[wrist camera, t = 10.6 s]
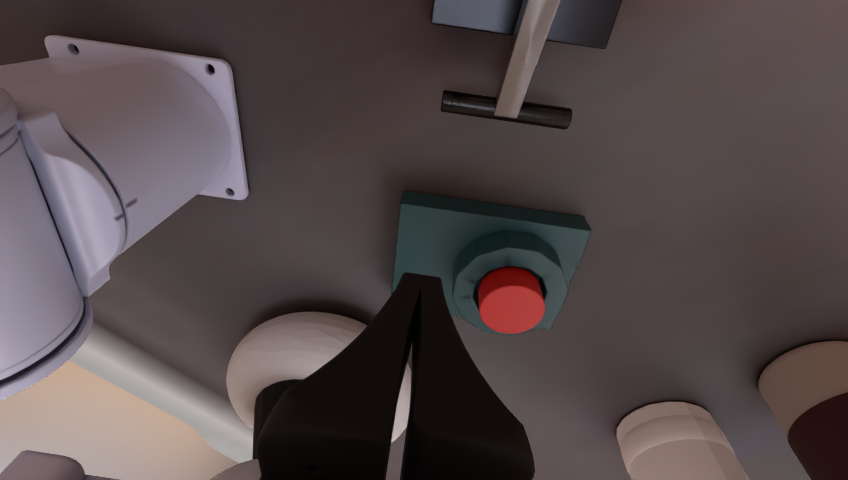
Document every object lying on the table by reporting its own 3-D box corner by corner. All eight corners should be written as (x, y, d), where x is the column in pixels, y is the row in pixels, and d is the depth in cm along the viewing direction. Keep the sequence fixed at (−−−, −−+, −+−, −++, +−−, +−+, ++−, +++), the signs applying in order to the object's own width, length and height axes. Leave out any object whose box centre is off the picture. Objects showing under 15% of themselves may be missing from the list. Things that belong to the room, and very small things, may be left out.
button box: (393, 291, 28) (385, 326, 25) (404, 190, 24) (396, 218, 21) (545, 313, 28) (556, 351, 25) (584, 216, 24) (602, 248, 21)
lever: (563, 109, 19) (566, 145, 18) (443, 91, 19) (438, 126, 18) (729, -228, 10) (757, -198, 9) (493, -263, 10) (489, -238, 9)
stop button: (472, 308, 24) (473, 329, 23) (484, 261, 22) (486, 281, 21) (530, 316, 24) (535, 338, 23) (547, 270, 22) (553, 291, 21)
